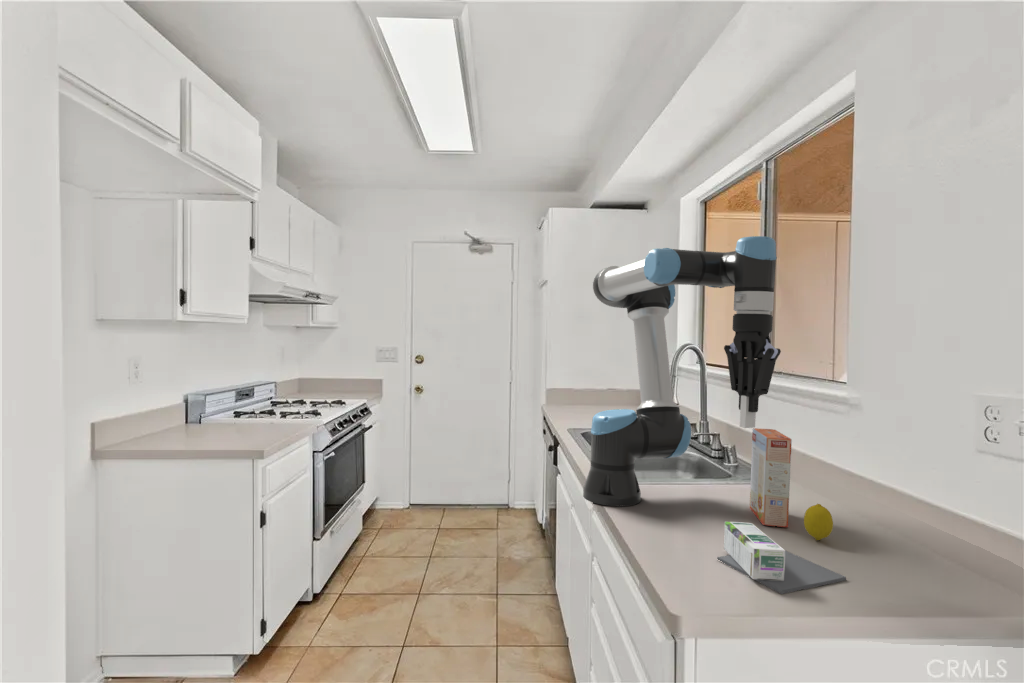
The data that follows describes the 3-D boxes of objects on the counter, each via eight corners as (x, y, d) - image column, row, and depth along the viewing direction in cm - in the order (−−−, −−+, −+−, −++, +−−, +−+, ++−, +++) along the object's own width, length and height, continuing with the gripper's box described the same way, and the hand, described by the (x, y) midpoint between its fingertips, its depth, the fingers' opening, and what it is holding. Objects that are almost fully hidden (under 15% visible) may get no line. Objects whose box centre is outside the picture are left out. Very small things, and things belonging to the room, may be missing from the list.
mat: (717, 560, 108) (717, 557, 108) (777, 549, 114) (777, 546, 114) (781, 594, 94) (781, 590, 94) (846, 580, 100) (846, 576, 100)
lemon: (802, 534, 124) (804, 498, 124) (831, 538, 121) (832, 502, 121) (803, 542, 119) (804, 505, 119) (833, 547, 116) (834, 509, 116)
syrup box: (752, 522, 112) (786, 548, 97) (751, 551, 112) (785, 582, 97) (724, 521, 112) (753, 547, 98) (723, 550, 112) (752, 580, 98)
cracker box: (790, 528, 127) (793, 438, 127) (762, 526, 128) (764, 436, 128) (774, 510, 141) (776, 428, 141) (748, 508, 142) (751, 427, 142)
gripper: (715, 312, 118) (710, 422, 119) (764, 312, 106) (758, 434, 107) (742, 313, 121) (737, 420, 122) (793, 313, 109) (787, 432, 110)
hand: (747, 426), depth 115 cm, fingers closed
